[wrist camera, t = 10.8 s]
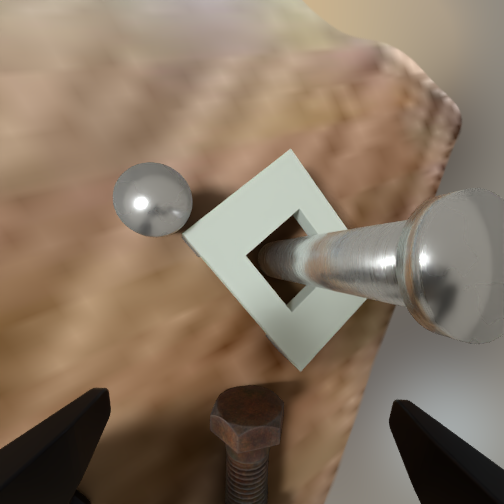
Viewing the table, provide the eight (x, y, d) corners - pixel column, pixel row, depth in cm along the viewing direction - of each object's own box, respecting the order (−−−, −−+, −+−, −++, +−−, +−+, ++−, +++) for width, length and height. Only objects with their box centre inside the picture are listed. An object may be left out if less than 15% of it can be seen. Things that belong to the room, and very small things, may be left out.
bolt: (224, 543, 22) (229, 378, 22) (280, 561, 21) (285, 387, 21) (196, 645, 16) (201, 423, 16) (270, 676, 15) (277, 438, 15)
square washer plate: (279, 351, 22) (300, 371, 18) (181, 237, 19) (182, 233, 16) (350, 276, 24) (383, 280, 20) (271, 167, 22) (290, 148, 18)
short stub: (156, 252, 19) (149, 251, 14) (116, 207, 18) (94, 191, 14) (200, 218, 20) (207, 206, 15) (164, 173, 19) (159, 148, 15)
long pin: (258, 290, 21) (442, 369, 6) (245, 241, 21) (406, 205, 6) (301, 276, 22) (541, 313, 8) (290, 229, 22) (514, 176, 7)
